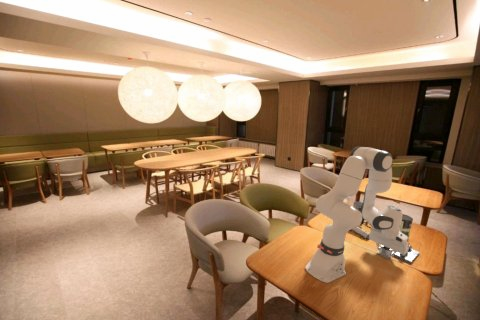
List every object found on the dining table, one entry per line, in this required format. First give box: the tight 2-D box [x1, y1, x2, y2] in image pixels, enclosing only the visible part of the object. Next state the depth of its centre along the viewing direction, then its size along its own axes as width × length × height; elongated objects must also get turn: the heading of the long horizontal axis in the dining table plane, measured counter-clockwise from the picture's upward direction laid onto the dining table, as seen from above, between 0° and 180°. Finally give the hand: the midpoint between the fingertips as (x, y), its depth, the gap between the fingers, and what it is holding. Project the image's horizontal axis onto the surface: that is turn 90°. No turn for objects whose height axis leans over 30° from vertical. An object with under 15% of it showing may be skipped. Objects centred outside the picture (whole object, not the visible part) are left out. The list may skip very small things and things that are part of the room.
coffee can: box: [399, 213, 414, 239], centre depth 162 cm, size 10×10×14 cm
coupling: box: [378, 244, 393, 259], centre depth 141 cm, size 6×6×5 cm
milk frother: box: [352, 201, 369, 225], centre depth 178 cm, size 14×16×15 cm
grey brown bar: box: [351, 226, 370, 240], centre depth 168 cm, size 5×7×25 cm
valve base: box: [393, 244, 420, 265], centre depth 142 cm, size 15×10×5 cm, turn 129°
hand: (385, 252), depth 141 cm, fingers closed on coupling, 6 cm apart
